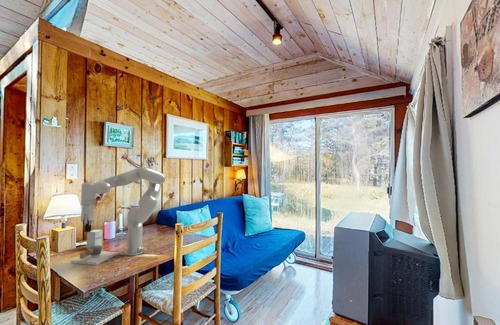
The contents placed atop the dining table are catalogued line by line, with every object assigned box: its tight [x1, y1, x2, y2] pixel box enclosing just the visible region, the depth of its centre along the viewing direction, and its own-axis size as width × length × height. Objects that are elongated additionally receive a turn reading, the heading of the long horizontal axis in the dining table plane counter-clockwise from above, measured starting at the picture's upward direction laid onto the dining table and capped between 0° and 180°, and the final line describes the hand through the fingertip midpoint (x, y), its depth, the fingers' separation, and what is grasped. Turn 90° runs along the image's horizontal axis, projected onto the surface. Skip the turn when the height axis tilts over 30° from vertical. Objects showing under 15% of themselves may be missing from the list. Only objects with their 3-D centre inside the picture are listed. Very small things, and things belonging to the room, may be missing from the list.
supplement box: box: [86, 229, 104, 250], centre depth 178 cm, size 7×7×13 cm
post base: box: [70, 250, 118, 266], centre depth 155 cm, size 19×19×3 cm
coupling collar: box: [79, 246, 102, 259], centre depth 152 cm, size 15×6×4 cm, turn 175°
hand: (87, 231), depth 148 cm, fingers closed
